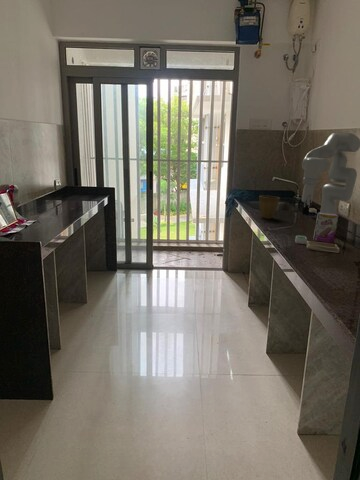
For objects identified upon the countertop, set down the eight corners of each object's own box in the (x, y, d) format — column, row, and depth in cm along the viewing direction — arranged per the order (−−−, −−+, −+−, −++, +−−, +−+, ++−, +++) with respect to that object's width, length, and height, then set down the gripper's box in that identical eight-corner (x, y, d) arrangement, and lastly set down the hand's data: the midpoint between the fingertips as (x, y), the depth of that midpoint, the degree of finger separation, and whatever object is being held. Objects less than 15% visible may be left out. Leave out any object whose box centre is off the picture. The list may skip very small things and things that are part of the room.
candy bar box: (313, 241, 208) (318, 213, 204) (312, 239, 213) (317, 212, 209) (334, 243, 206) (339, 215, 201) (332, 241, 210) (337, 214, 206)
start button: (297, 239, 206) (297, 235, 205) (303, 240, 205) (304, 236, 204) (297, 241, 202) (298, 236, 202) (304, 242, 202) (305, 237, 201)
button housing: (295, 240, 207) (295, 235, 206) (305, 241, 206) (305, 236, 205) (295, 243, 202) (296, 237, 201) (306, 244, 201) (306, 239, 200)
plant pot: (277, 220, 261) (280, 198, 257) (257, 218, 263) (259, 197, 259) (275, 216, 275) (278, 196, 271) (256, 214, 277) (258, 194, 273)
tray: (305, 244, 200) (306, 240, 200) (335, 248, 197) (336, 244, 196) (307, 249, 191) (308, 245, 191) (338, 252, 188) (339, 248, 187)
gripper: (301, 179, 203) (297, 211, 208) (304, 182, 189) (299, 216, 194) (315, 180, 201) (310, 212, 206) (319, 183, 187) (313, 217, 192)
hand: (305, 214), depth 200 cm, fingers closed
